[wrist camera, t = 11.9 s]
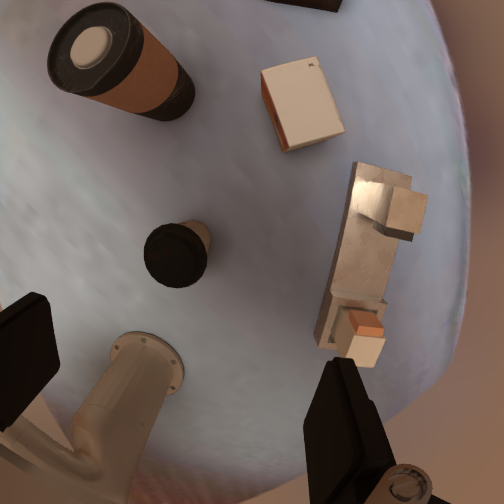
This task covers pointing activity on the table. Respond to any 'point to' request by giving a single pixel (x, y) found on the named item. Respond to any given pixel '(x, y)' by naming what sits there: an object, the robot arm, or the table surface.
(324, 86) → the small box
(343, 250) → the rail
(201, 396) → the table surface
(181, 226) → the coffee cup
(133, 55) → the travel mug
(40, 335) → the robot arm
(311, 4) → the manual coffee grinder
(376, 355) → the beige orange block
